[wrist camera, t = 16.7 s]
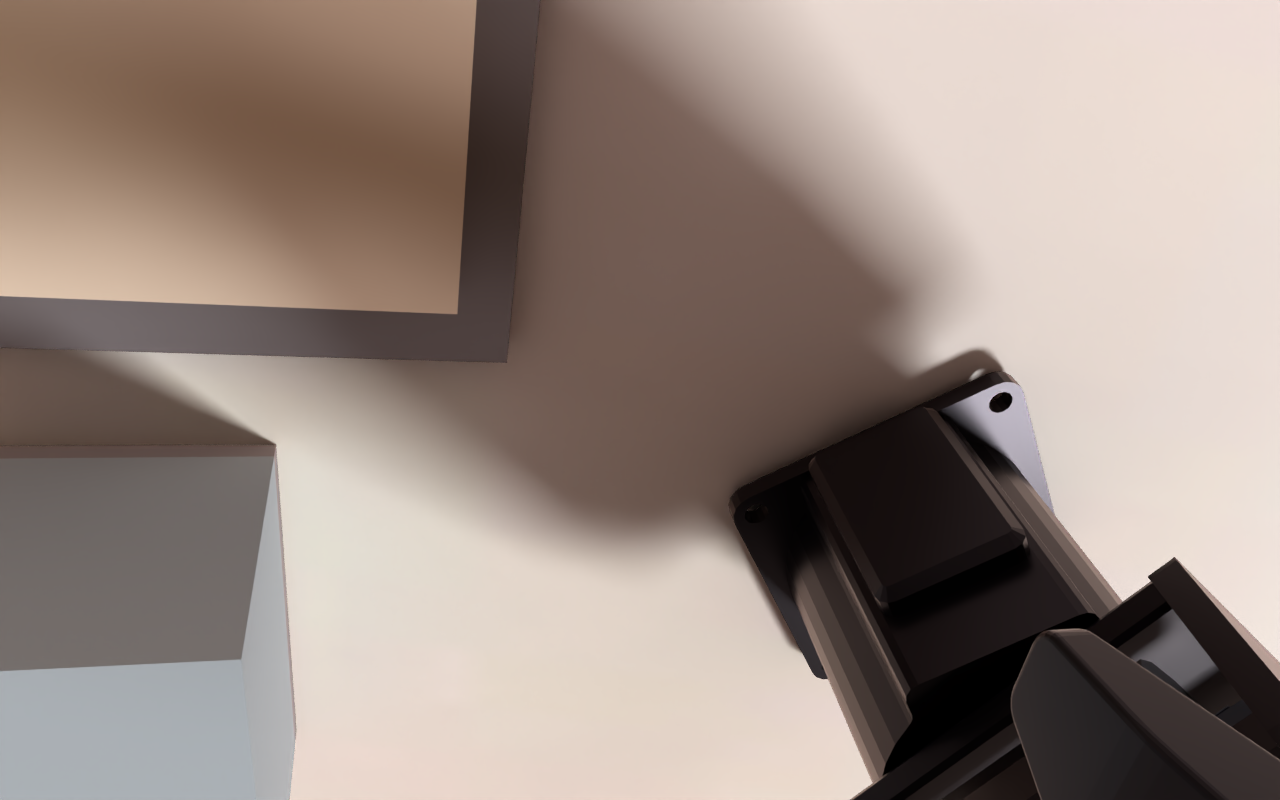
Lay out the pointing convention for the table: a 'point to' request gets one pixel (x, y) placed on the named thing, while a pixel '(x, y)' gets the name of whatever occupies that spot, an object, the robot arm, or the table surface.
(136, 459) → the block
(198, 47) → the board
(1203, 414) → the table surface
